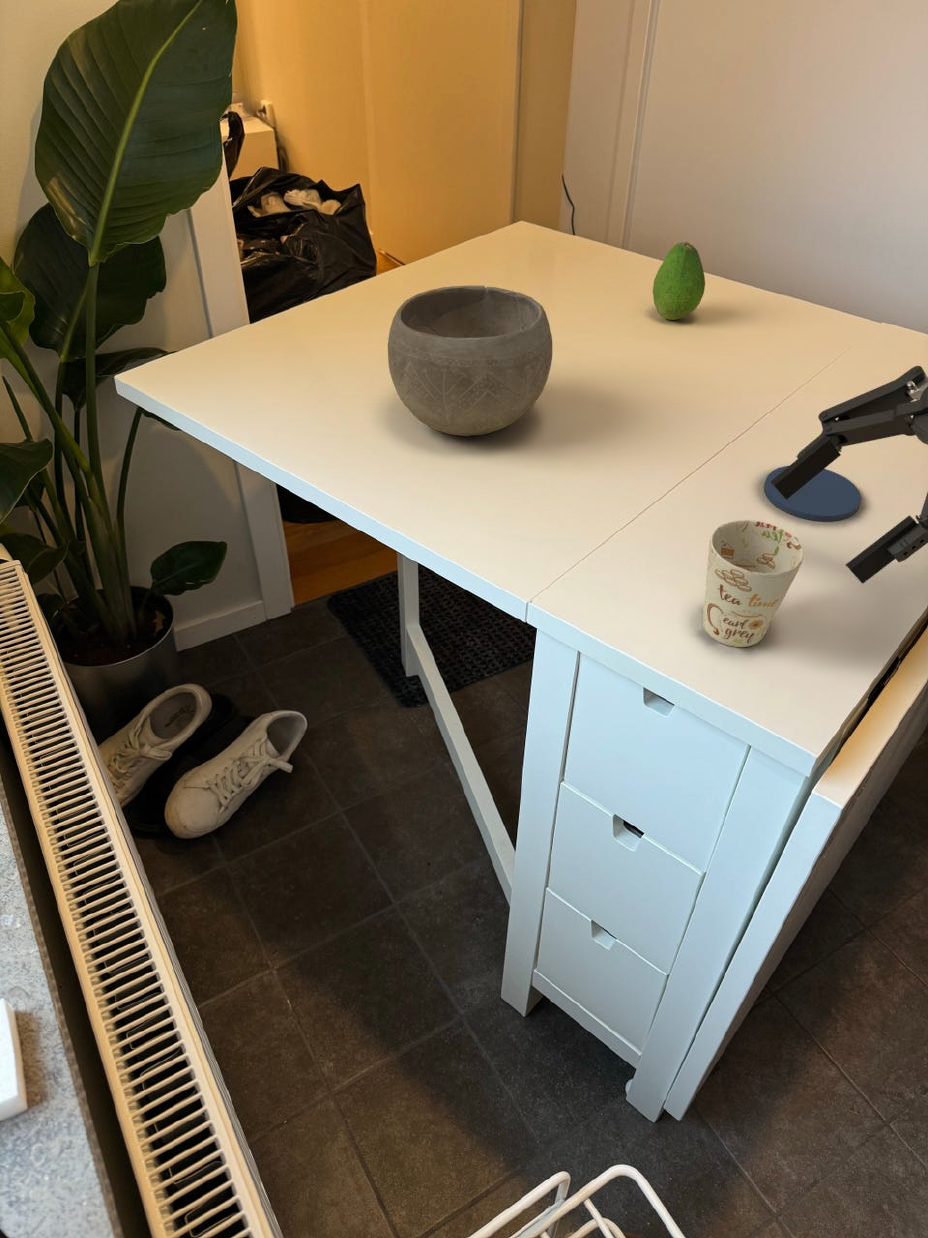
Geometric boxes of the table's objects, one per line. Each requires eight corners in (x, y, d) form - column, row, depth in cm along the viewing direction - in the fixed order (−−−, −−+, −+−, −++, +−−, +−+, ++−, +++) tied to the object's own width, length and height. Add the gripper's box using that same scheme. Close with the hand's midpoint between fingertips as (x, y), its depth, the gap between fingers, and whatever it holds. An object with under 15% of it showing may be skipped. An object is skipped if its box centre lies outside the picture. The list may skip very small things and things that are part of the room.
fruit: (699, 311, 147) (713, 236, 139) (697, 330, 141) (712, 253, 134) (650, 305, 149) (662, 231, 141) (646, 324, 143) (658, 248, 135)
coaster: (879, 505, 105) (881, 500, 104) (811, 531, 101) (813, 525, 100) (810, 462, 112) (812, 456, 112) (744, 484, 108) (745, 478, 107)
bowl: (387, 384, 126) (383, 278, 116) (533, 380, 127) (541, 275, 117) (393, 463, 110) (389, 347, 100) (559, 457, 112) (571, 343, 102)
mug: (673, 624, 88) (692, 543, 82) (745, 572, 95) (768, 493, 88) (744, 668, 84) (771, 586, 77) (815, 611, 90) (845, 530, 84)
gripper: (1142, 465, 70) (908, 634, 77) (943, 333, 88) (768, 480, 95) (1120, 410, 65) (873, 595, 72) (915, 283, 83) (733, 441, 91)
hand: (813, 530), depth 84 cm, fingers open, 13 cm apart
